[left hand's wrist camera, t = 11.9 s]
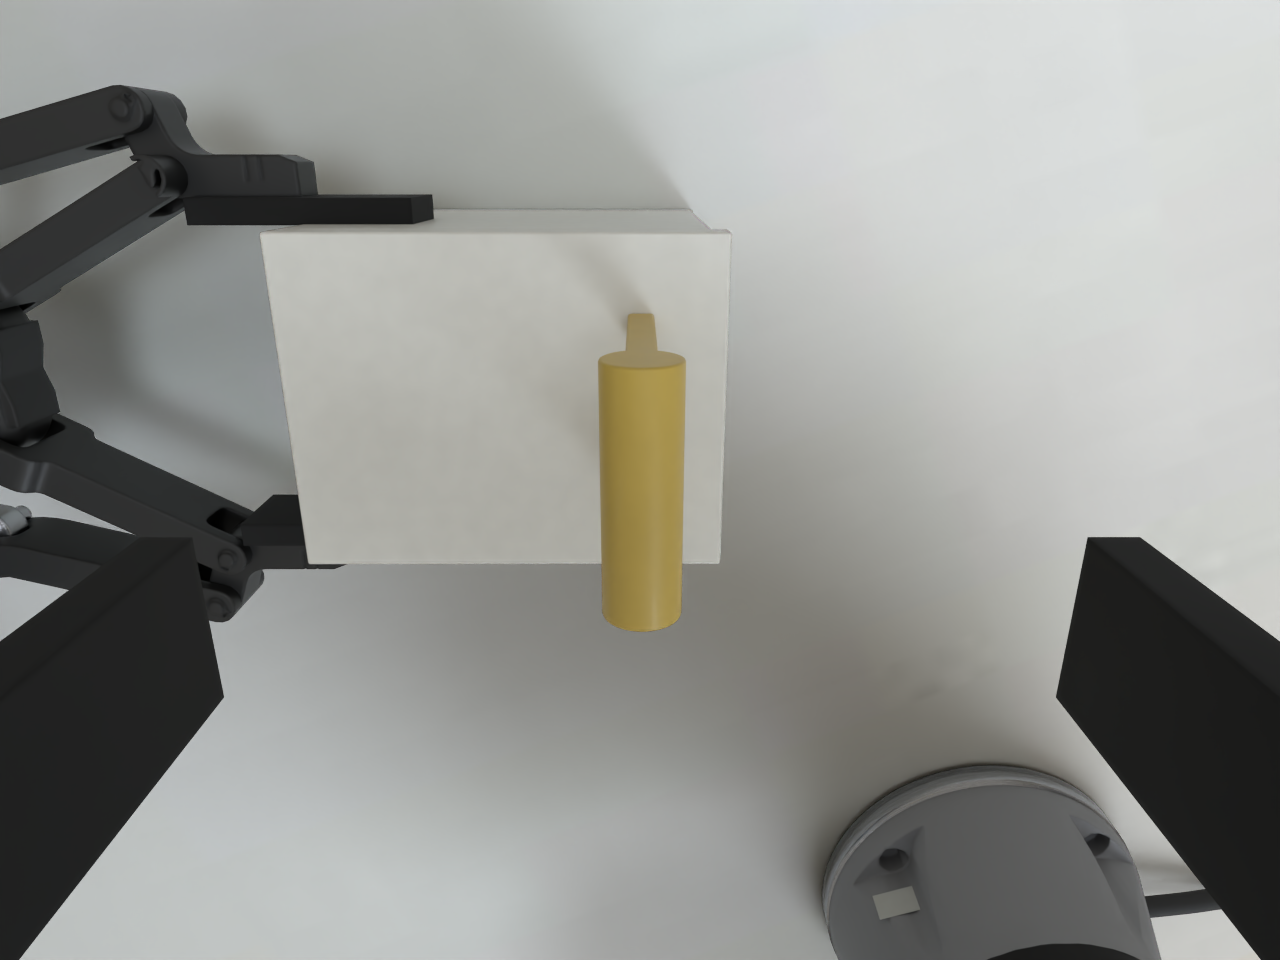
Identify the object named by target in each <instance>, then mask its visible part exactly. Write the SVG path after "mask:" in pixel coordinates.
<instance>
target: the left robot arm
mask: <svg viewBox="0 0 1280 960" xmlns="http://www.w3.org/2000/svg"><path fill="white" fill-rule="evenodd" d="M223 698H224V695H223V690H222V685H221V680H220V675H219V669H218V664H217V659H216V654H215V649H214V644H213V639H212V634H211V629H210V624H209V619H208V614H207V609H206V604H205V599H204V594H203V589H202V584H201V579H200V574H199V569H198V564H197V559H196V554H195V549H194V544H193V539H192V537H140V538H138V539H137V540H136V541H134V542H133V543H132V544H130V545H129V546H128V547H126V548H125V549H124V550H122V551H121V552H120V553H118V554H117V555H116V556H114V557H113V558H112V559H110V560H109V561H108V562H106V563H105V564H104V565H102V566H101V567H99V568H98V569H97V570H95V571H94V572H93V573H91V574H90V575H89V576H87V577H86V578H85V579H83V580H82V581H81V582H79V583H78V584H77V585H75V586H74V587H73V588H71V589H70V590H69V591H67V592H66V593H65V594H63V595H62V596H61V597H59V598H58V599H57V600H55V601H54V602H53V603H51V604H50V605H49V606H47V607H46V608H45V609H43V610H42V611H40V612H39V613H38V614H36V615H35V616H34V617H32V618H31V619H30V620H28V621H27V622H26V623H24V624H23V625H22V626H20V627H19V628H18V629H16V630H15V631H14V632H12V633H11V634H10V635H8V636H7V637H6V638H4V639H3V640H2V641H0V960H19V959H20V958H21V957H22V955H23V954H24V953H25V951H26V950H27V949H28V948H29V946H30V945H31V944H32V942H33V941H34V940H35V939H36V937H37V936H38V935H39V933H40V932H41V931H42V930H43V928H44V927H45V926H46V924H47V923H48V922H49V921H50V919H51V918H52V917H53V916H54V914H55V913H56V912H57V910H58V909H59V908H60V907H61V905H62V904H63V903H64V901H65V900H66V899H67V898H68V896H69V895H70V894H71V892H72V891H73V890H74V889H75V887H76V886H77V885H78V884H79V882H80V881H81V880H82V878H83V877H84V876H85V875H86V873H87V872H88V871H89V869H90V868H91V867H92V866H93V864H94V863H95V862H96V860H97V859H98V858H99V857H100V855H101V854H102V853H103V851H104V850H105V849H106V848H107V846H108V845H109V844H110V843H111V841H112V840H113V839H114V837H115V836H116V835H117V834H118V832H119V831H120V830H121V828H122V827H123V826H124V825H125V823H126V822H127V821H128V819H129V818H130V817H131V816H132V814H133V813H134V812H135V811H136V809H137V808H138V807H139V805H140V804H141V803H142V802H143V800H144V799H145V798H146V796H147V795H148V794H149V793H150V791H151V790H152V789H153V787H154V786H155V785H156V784H157V782H158V781H159V780H160V778H161V777H162V776H163V775H164V773H165V772H166V771H167V770H168V768H169V767H170V766H171V764H172V763H173V762H174V761H175V759H176V758H177V757H178V755H179V754H180V753H181V752H182V750H183V749H184V748H185V746H186V745H187V744H188V743H189V741H190V740H191V739H192V738H193V736H194V735H195V734H196V732H197V731H198V730H199V729H200V727H201V726H202V725H203V723H204V722H205V721H206V720H207V718H208V717H209V716H210V714H211V713H212V712H213V711H214V709H215V708H216V707H217V706H218V704H219V703H220V702H221V700H222V699H223ZM1056 698H1057V699H1058V700H1059V702H1060V703H1061V704H1062V706H1063V707H1064V708H1065V709H1066V711H1067V712H1068V713H1069V714H1070V716H1071V717H1072V718H1073V720H1074V721H1075V722H1076V723H1077V725H1078V726H1079V727H1080V729H1081V730H1082V731H1083V732H1084V734H1085V735H1086V736H1087V738H1088V739H1089V740H1090V741H1091V743H1092V744H1093V745H1094V746H1095V748H1096V749H1097V750H1098V752H1099V753H1100V754H1101V755H1102V757H1103V758H1104V759H1105V761H1106V762H1107V763H1108V764H1109V766H1110V767H1111V768H1112V770H1113V771H1114V772H1115V773H1116V775H1117V776H1118V777H1119V779H1120V780H1121V781H1122V782H1123V784H1124V785H1125V786H1126V787H1127V789H1128V790H1129V791H1130V793H1131V794H1132V795H1133V796H1134V798H1135V799H1136V800H1137V802H1138V803H1139V804H1140V805H1141V807H1142V808H1143V809H1144V811H1145V812H1146V813H1147V814H1148V816H1149V817H1150V818H1151V819H1152V821H1153V822H1154V823H1155V825H1156V826H1157V827H1158V828H1159V830H1160V831H1161V832H1162V834H1163V835H1164V836H1165V837H1166V839H1167V840H1168V841H1169V843H1170V844H1171V845H1172V846H1173V848H1174V849H1175V850H1176V852H1177V853H1178V854H1179V855H1180V857H1181V858H1182V859H1183V860H1184V862H1185V863H1186V864H1187V866H1188V867H1189V868H1190V869H1191V871H1192V872H1193V873H1194V875H1195V876H1196V877H1197V878H1198V880H1199V881H1200V882H1201V884H1202V885H1203V886H1204V887H1205V889H1203V890H1196V891H1189V892H1181V893H1172V894H1163V895H1153V896H1144V892H1143V889H1142V885H1141V881H1140V877H1139V874H1138V871H1137V868H1136V866H1135V864H1134V862H1133V859H1132V857H1131V855H1130V853H1129V851H1128V849H1127V847H1126V845H1125V843H1124V841H1123V839H1122V838H1121V836H1120V835H1119V834H1118V832H1117V831H1116V829H1115V828H1114V826H1113V825H1112V824H1111V822H1110V821H1109V819H1108V818H1107V817H1106V815H1105V814H1104V812H1103V811H1102V810H1101V809H1100V808H1099V807H1098V806H1097V804H1096V803H1095V802H1094V801H1092V800H1091V799H1090V798H1089V797H1088V796H1087V795H1086V794H1084V793H1083V792H1081V791H1080V790H1078V789H1077V788H1076V787H1074V786H1072V785H1070V784H1068V783H1067V782H1065V781H1063V780H1060V779H1058V778H1056V777H1053V776H1051V775H1048V774H1045V773H1041V772H1038V771H1034V770H1030V769H1025V768H1019V767H1011V766H994V765H990V766H972V767H964V768H958V769H953V770H948V771H943V772H940V773H936V774H933V775H929V776H927V777H924V778H921V779H918V780H916V781H914V782H911V783H909V784H907V785H905V786H903V787H901V788H899V789H897V790H895V791H893V792H892V793H890V794H888V795H887V796H885V797H884V798H882V799H881V800H879V801H878V802H876V803H875V804H874V805H872V806H871V807H870V808H869V809H867V810H866V811H865V812H864V813H863V814H862V815H861V816H860V817H859V818H858V819H857V820H856V821H855V822H854V823H853V824H852V825H851V826H850V827H849V829H848V830H847V831H846V832H845V834H844V835H843V837H842V838H841V839H840V841H839V842H838V844H837V846H836V848H835V849H834V851H833V853H832V855H831V858H830V860H829V862H828V865H827V868H826V872H825V875H824V881H823V889H822V902H823V910H824V915H825V919H826V923H827V927H828V931H829V935H830V940H831V943H832V945H833V948H834V951H835V953H836V955H837V957H838V959H839V960H1161V957H1160V953H1159V949H1158V945H1157V942H1156V938H1155V934H1154V930H1153V926H1152V923H1151V919H1150V918H1153V917H1163V916H1172V915H1182V914H1191V913H1198V912H1205V911H1212V910H1218V909H1222V910H1223V912H1224V913H1225V914H1226V916H1227V917H1228V918H1229V919H1230V921H1231V922H1232V923H1233V925H1234V926H1235V927H1236V928H1237V930H1238V931H1239V932H1240V933H1241V935H1242V936H1243V937H1244V939H1245V940H1246V941H1247V942H1248V944H1249V945H1250V946H1251V948H1252V949H1253V950H1254V951H1255V953H1256V954H1257V955H1258V957H1259V958H1260V959H1261V960H1280V641H1278V640H1277V639H1276V638H1274V637H1273V636H1272V635H1270V634H1269V633H1268V632H1266V631H1265V630H1264V629H1262V628H1261V627H1260V626H1258V625H1257V624H1256V623H1254V622H1253V621H1252V620H1250V619H1249V618H1248V617H1246V616H1245V615H1244V614H1242V613H1241V612H1240V611H1238V610H1237V609H1235V608H1234V607H1233V606H1231V605H1230V604H1229V603H1227V602H1226V601H1225V600H1223V599H1222V598H1221V597H1219V596H1218V595H1217V594H1215V593H1214V592H1213V591H1211V590H1210V589H1209V588H1207V587H1206V586H1205V585H1203V584H1202V583H1201V582H1199V581H1198V580H1197V579H1195V578H1194V577H1193V576H1191V575H1190V574H1189V573H1187V572H1186V571H1185V570H1183V569H1182V568H1181V567H1179V566H1178V565H1176V564H1175V563H1174V562H1172V561H1171V560H1170V559H1168V558H1167V557H1166V556H1164V555H1163V554H1162V553H1160V552H1159V551H1158V550H1156V549H1155V548H1154V547H1152V546H1151V545H1150V544H1148V543H1147V542H1146V541H1144V540H1143V539H1142V538H1140V537H1088V539H1087V544H1086V549H1085V554H1084V559H1083V564H1082V569H1081V574H1080V579H1079V584H1078V589H1077V594H1076V599H1075V604H1074V609H1073V614H1072V619H1071V624H1070V629H1069V634H1068V639H1067V644H1066V649H1065V654H1064V659H1063V664H1062V669H1061V674H1060V680H1059V685H1058V690H1057V695H1056Z"/></svg>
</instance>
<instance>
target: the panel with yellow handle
mask: <svg viewBox="0 0 1280 960" xmlns="http://www.w3.org/2000/svg"><path fill="white" fill-rule="evenodd" d="M260 242H261V249H262V255H263V262H264V269H265V276H266V282H267V289H268V296H269V302H270V309H271V316H272V323H273V329H274V336H275V343H276V349H277V356H278V363H279V370H280V376H281V383H282V390H283V397H284V403H285V410H286V417H287V423H288V430H289V437H290V444H291V450H292V457H293V464H294V470H295V477H296V484H297V491H298V497H299V504H300V511H301V517H302V524H303V531H304V538H305V544H306V551H307V558H308V563H309V564H601V569H602V613H603V616H604V618H605V619H606V620H607V621H608V622H609V623H610V624H612V625H613V626H616V627H618V628H621V629H624V630H629V631H637V632H646V631H655V630H660V629H663V628H666V627H668V626H670V625H672V624H674V623H675V622H676V621H677V620H678V619H679V617H680V615H681V606H682V564H718V563H719V562H720V552H721V524H722V496H723V469H724V441H725V413H726V385H727V358H728V330H729V302H730V274H731V247H732V234H731V232H730V231H728V230H726V229H274V230H269V231H263V232H260Z"/></svg>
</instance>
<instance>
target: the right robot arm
mask: <svg viewBox="0 0 1280 960" xmlns="http://www.w3.org/2000/svg"><path fill="white" fill-rule="evenodd" d="M186 121H187V113H186V109H185V107H184V105H183V103H182V102H181V100H180V99H178V98H177V97H176V96H175V95H173V94H170V93H168V92H163V91H157V90H150V89H143V88H137V87H130V86H124V85H113V86H109V87H106V88H102V89H99V90H96V91H92V92H89V93H86V94H82V95H79V96H76V97H72V98H69V99H66V100H62V101H59V102H55V103H52V104H49V105H45V106H42V107H39V108H35V109H32V110H29V111H25V112H22V113H19V114H15V115H12V116H9V117H5V118H2V119H0V185H2V184H6V183H9V182H13V181H16V180H20V179H23V178H26V177H30V176H33V175H37V174H40V173H44V172H47V171H50V170H54V169H57V168H61V167H64V166H68V165H71V164H74V163H78V162H81V161H85V160H88V159H92V158H95V157H98V156H102V155H105V154H109V153H112V152H116V151H119V150H122V149H126V148H129V147H130V149H131V151H132V153H133V154H134V155H133V156H131V157H130V159H131V160H132V161H137V162H136V163H134V164H133V165H131V166H130V167H128V168H127V169H125V170H123V171H122V172H120V173H119V174H117V175H116V176H114V177H112V178H111V179H109V180H108V181H106V182H105V183H103V184H102V185H100V186H98V187H97V188H95V189H94V190H92V191H91V192H89V193H88V194H86V195H84V196H83V197H81V198H80V199H78V200H77V201H75V202H74V203H72V204H70V205H69V206H67V207H66V208H64V209H63V210H61V211H60V212H58V213H56V214H55V215H53V216H52V217H50V218H49V219H47V220H45V221H44V222H42V223H41V224H39V225H38V226H36V227H35V228H33V229H31V230H30V231H28V232H27V233H25V234H24V235H22V236H21V237H19V238H17V239H16V240H14V241H13V242H11V243H10V244H8V245H7V246H5V247H3V248H2V249H0V485H1V486H3V487H6V488H8V489H10V490H13V491H16V492H22V493H35V492H36V493H42V494H45V495H47V496H49V497H51V498H54V499H56V500H58V501H61V502H63V503H65V504H67V505H70V506H72V507H74V508H76V509H79V510H81V511H83V512H85V513H88V514H90V515H92V516H94V517H97V518H99V519H101V520H103V521H106V522H108V523H110V524H112V525H115V526H117V527H119V528H122V529H124V530H126V531H128V532H131V533H133V534H135V535H133V534H128V533H124V532H120V531H115V530H111V529H106V528H102V527H97V526H93V525H89V524H84V523H80V522H75V521H71V520H65V519H59V518H49V517H32V514H31V511H30V510H29V509H28V508H27V507H25V506H17V507H16V508H15V507H12V506H8V505H2V504H0V578H2V577H13V578H17V579H22V580H26V581H31V582H35V583H40V584H45V585H49V586H54V587H58V588H63V589H67V590H70V589H71V588H73V587H74V586H75V585H77V584H78V583H79V582H81V581H82V580H83V579H85V578H86V577H87V576H89V575H90V574H91V573H93V572H94V571H95V570H97V569H98V568H99V567H101V566H102V565H104V564H105V563H106V562H108V561H109V560H110V559H112V558H113V557H114V556H116V555H117V554H118V553H120V552H121V551H122V550H124V549H125V548H126V547H128V546H129V545H130V544H132V543H133V542H134V541H136V540H137V539H138V538H140V537H192V539H193V544H194V549H195V554H196V559H197V564H198V569H199V574H200V579H201V584H202V589H203V594H204V599H205V604H206V609H207V614H208V619H209V621H214V622H225V621H228V620H230V619H231V618H232V617H233V616H234V615H235V614H236V613H237V611H238V610H239V609H240V608H241V607H242V606H243V605H244V604H245V603H246V602H247V600H248V599H249V598H250V597H251V596H252V595H253V594H254V593H255V592H256V590H257V589H258V588H259V587H260V586H261V585H262V583H263V581H264V573H263V571H262V569H305V568H307V569H317V568H318V569H336V568H338V567H341V566H344V565H346V564H309V563H308V558H307V551H306V544H305V538H304V531H303V524H302V517H301V511H300V504H299V497H298V495H273V496H271V497H270V498H269V499H268V500H267V501H266V502H265V503H264V504H263V505H261V506H260V507H259V508H258V509H257V510H256V511H255V512H253V511H251V510H249V509H247V508H245V507H242V506H240V505H238V504H236V503H234V502H232V501H229V500H227V499H225V498H223V497H221V496H218V495H216V494H214V493H212V492H210V491H208V490H205V489H203V488H201V487H199V486H197V485H194V484H192V483H190V482H188V481H186V480H184V479H181V478H179V477H177V476H175V475H173V474H170V473H168V472H166V471H164V470H162V469H159V468H157V467H155V466H153V465H151V464H149V463H146V462H144V461H142V460H140V459H138V458H135V457H133V456H131V455H129V454H127V453H125V452H122V451H120V450H118V449H116V448H114V447H111V446H109V445H107V444H105V443H103V442H101V441H99V440H97V439H96V438H95V437H94V432H93V431H92V430H91V429H89V428H88V427H86V426H84V425H81V424H79V423H77V422H75V421H73V420H70V419H68V418H66V417H64V416H62V415H60V414H57V413H58V412H60V410H59V405H58V401H57V397H56V393H55V390H54V388H53V386H52V384H51V382H50V380H49V378H48V376H47V374H46V372H45V370H44V368H43V340H42V336H41V331H40V327H39V323H38V320H29V319H28V317H27V316H26V314H25V313H27V312H28V311H30V310H31V309H33V308H35V307H36V306H38V305H39V304H41V303H43V302H44V301H46V300H48V299H49V298H51V297H52V296H54V295H56V294H57V293H58V292H60V291H61V289H60V288H61V287H62V286H64V285H65V284H67V283H69V282H70V281H72V280H73V279H75V278H77V277H78V276H80V275H81V274H83V273H85V272H86V271H88V270H89V269H91V268H93V267H94V266H96V265H97V264H99V263H101V262H102V261H104V260H105V259H107V258H109V257H110V256H112V255H114V254H115V253H117V252H118V251H120V250H122V249H123V248H125V247H126V246H128V245H130V244H131V243H133V242H134V241H136V240H138V239H139V238H141V237H142V236H144V235H146V234H147V233H149V232H150V231H152V230H154V229H155V228H157V227H158V226H160V225H162V224H163V223H165V222H167V221H168V220H170V219H171V218H173V217H175V216H176V215H178V214H179V213H181V212H183V211H184V210H185V214H186V220H187V225H303V224H416V223H420V222H424V221H428V220H431V219H434V212H433V199H432V195H318V192H317V184H316V176H315V168H314V162H312V161H310V160H307V159H305V158H302V157H300V156H297V155H215V154H211V153H209V152H207V151H205V150H204V149H202V148H201V147H200V146H199V145H198V144H197V143H196V142H195V140H194V139H193V137H192V136H191V134H190V132H189V130H188V128H187V126H186ZM31 517H32V518H31Z"/></svg>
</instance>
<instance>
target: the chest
mask: <svg viewBox="0 0 1280 960" xmlns="http://www.w3.org/2000/svg"><path fill="white" fill-rule="evenodd" d="M433 212H434V219H431V220H428V221H424V222H420V223H416V224H303V225H297V226H291V227H286V228H280V229H710V228H709V227H708V226H707V225H706V224H705V223H704V222H702V221H701V220H700V219H699V218H698V217H697V216H696V215H695V214H693V211H692V210H691V209H433Z"/></svg>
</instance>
